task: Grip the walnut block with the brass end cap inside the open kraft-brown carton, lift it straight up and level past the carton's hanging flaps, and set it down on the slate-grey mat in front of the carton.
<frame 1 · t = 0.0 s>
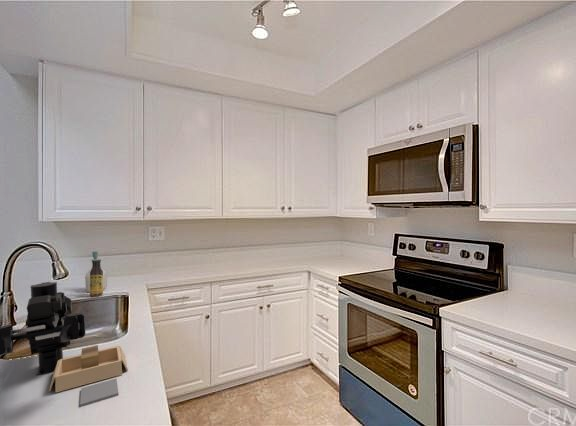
hand: (34, 344, 71), 17 cm above the worktop, tool horizontal, fingers open, 9 cm apart
sauce bottle: (96, 296, 171), on the worktop
soap bottle: (96, 290, 183), on the worktop
carton: (90, 374, 89), on the worktop
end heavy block: (90, 372, 89), resting on carton
mat: (99, 394, 79), on the worktop
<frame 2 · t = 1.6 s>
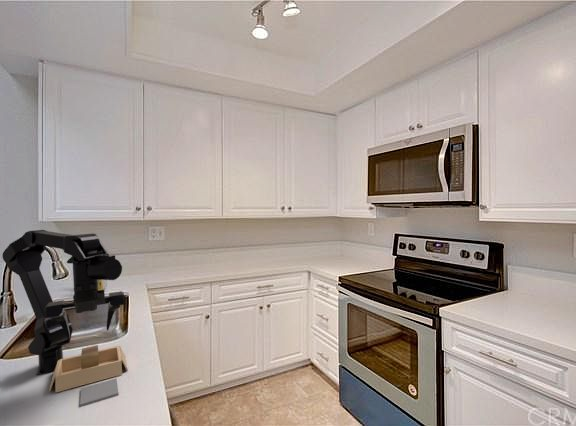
hand: (88, 333, 88), 12 cm above the worktop, tool pointing down, fingers open, 9 cm apart
nothing on the worktop moved.
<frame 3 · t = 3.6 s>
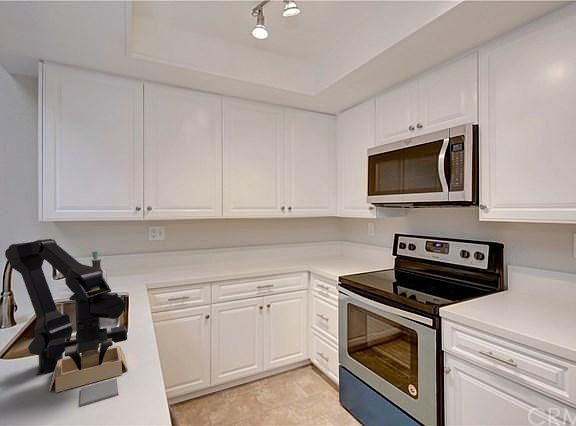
hand: (90, 370, 88), 2 cm above the worktop, tool pointing down, fingers closed on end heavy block, 4 cm apart
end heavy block: (90, 372, 89), resting on carton, touching gripper
everything else where it was.
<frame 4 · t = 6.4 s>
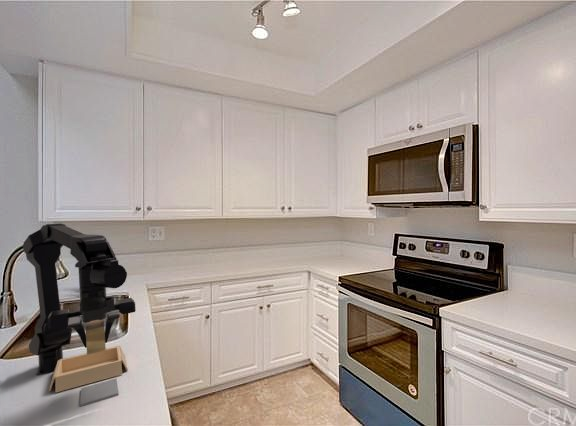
hand: (96, 344, 81), 12 cm above the worktop, tool pointing down, fingers closed on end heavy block, 4 cm apart
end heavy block: (96, 347, 82), point 11 cm above the worktop, touching gripper
everything else where it was.
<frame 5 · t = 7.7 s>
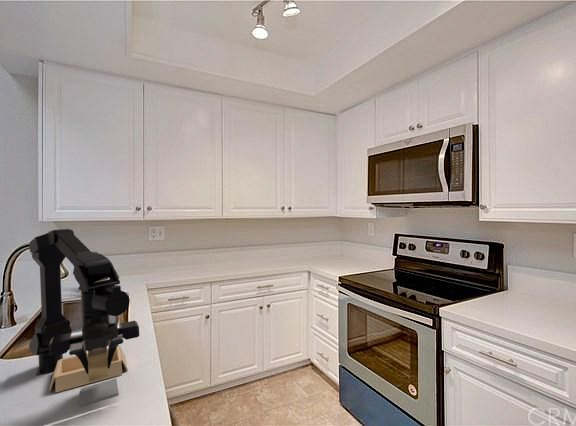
hand: (98, 370, 78), 7 cm above the worktop, tool pointing down, fingers closed on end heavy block, 4 cm apart
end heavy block: (98, 372, 79), point 6 cm above the worktop, touching gripper
everything else where it was.
when the fingers open (3 cm above the worktop, at t = 9.1 s): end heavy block stays where it is, resting on mat.
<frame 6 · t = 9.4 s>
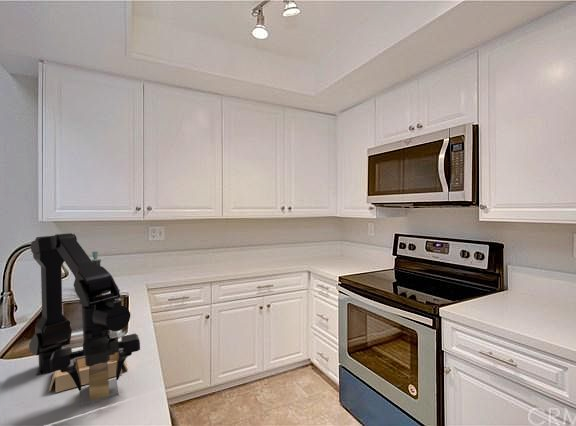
hand: (99, 384, 78), 3 cm above the worktop, tool pointing down, fingers open, 8 cm apart
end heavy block: (99, 390, 79), point 1 cm above the worktop, touching mat
everything else where it was.
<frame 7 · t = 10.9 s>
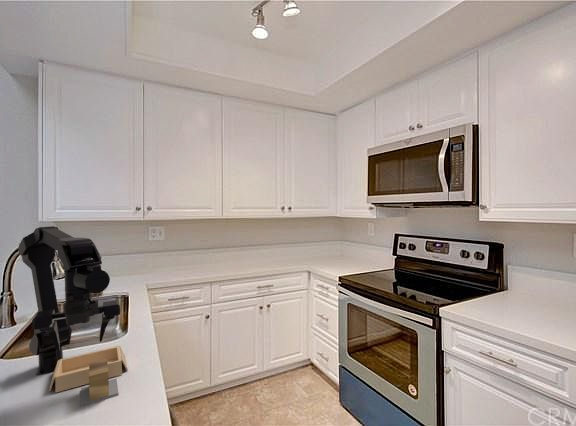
hand: (80, 345, 82), 11 cm above the worktop, tool pointing down, fingers open, 9 cm apart
nothing on the worktop moved.
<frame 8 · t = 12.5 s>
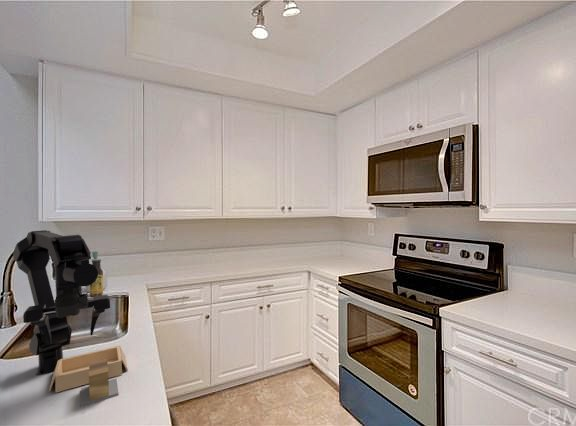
hand: (71, 339, 84), 12 cm above the worktop, tool pointing down, fingers open, 9 cm apart
nothing on the worktop moved.
at the end: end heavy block 0.0 cm off-centre on the mat, point 1.0 cm above the mat's base; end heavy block tilted 0°; the gripper is holding nothing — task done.
